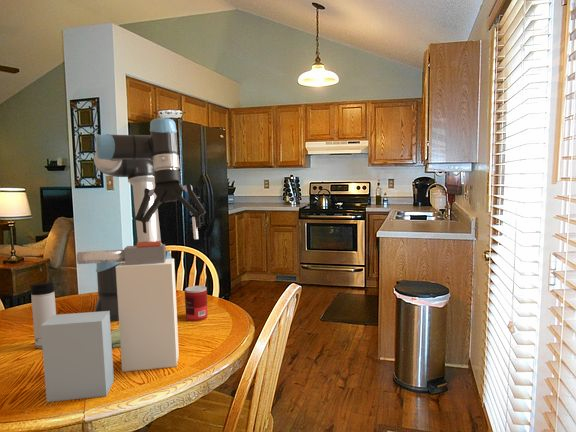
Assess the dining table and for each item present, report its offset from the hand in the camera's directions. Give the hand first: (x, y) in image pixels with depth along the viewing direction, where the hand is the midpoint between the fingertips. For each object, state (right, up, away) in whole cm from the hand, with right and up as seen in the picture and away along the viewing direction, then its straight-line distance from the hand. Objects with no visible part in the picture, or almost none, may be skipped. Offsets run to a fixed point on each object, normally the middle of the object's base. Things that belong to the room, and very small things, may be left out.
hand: (173, 241), depth 129 cm
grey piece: (-9, -5, -12) cm, 16 cm away
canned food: (+1, -30, +30) cm, 42 cm away
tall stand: (-4, -33, -8) cm, 34 cm away
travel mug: (-41, -33, +7) cm, 53 cm away
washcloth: (-14, -32, +11) cm, 37 cm away
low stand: (-16, -35, -24) cm, 45 cm away
